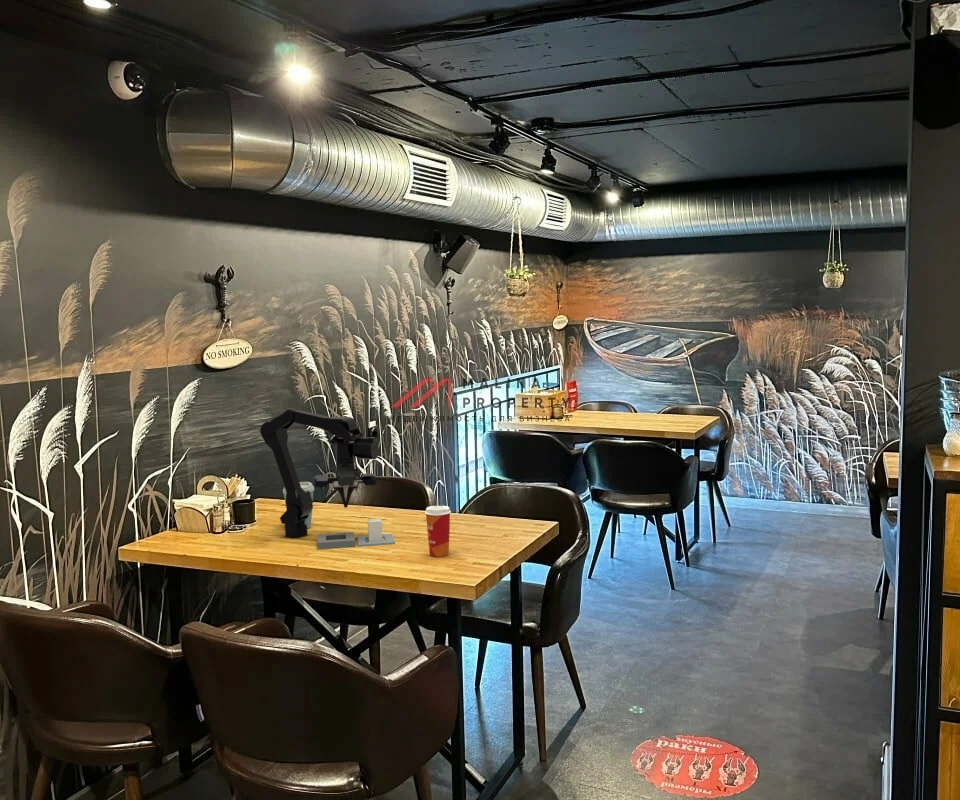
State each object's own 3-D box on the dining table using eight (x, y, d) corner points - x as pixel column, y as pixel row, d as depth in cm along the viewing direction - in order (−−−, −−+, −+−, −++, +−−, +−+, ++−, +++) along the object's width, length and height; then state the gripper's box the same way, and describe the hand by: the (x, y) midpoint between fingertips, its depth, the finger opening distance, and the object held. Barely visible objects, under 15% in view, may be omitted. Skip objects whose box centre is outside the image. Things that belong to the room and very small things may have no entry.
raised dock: (318, 554, 251) (317, 542, 251) (318, 545, 262) (317, 534, 262) (355, 551, 253) (354, 540, 253) (353, 542, 264) (353, 531, 264)
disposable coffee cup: (309, 531, 281) (307, 487, 279) (278, 531, 283) (276, 487, 281) (320, 524, 291) (318, 481, 290) (291, 523, 293) (289, 481, 292)
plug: (369, 547, 258) (368, 522, 257) (368, 544, 261) (367, 519, 261) (382, 546, 258) (381, 521, 258) (381, 543, 262) (380, 518, 262)
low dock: (358, 551, 254) (358, 544, 253) (356, 542, 264) (356, 536, 264) (395, 548, 256) (394, 542, 255) (391, 540, 266) (391, 533, 266)
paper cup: (427, 551, 252) (426, 505, 250) (453, 551, 251) (451, 504, 250) (424, 558, 244) (423, 510, 243) (451, 558, 244) (449, 510, 242)
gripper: (314, 463, 252) (315, 514, 253) (377, 461, 255) (377, 511, 257) (314, 457, 262) (315, 506, 264) (374, 455, 266) (375, 504, 267)
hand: (345, 507), depth 263 cm, fingers closed
